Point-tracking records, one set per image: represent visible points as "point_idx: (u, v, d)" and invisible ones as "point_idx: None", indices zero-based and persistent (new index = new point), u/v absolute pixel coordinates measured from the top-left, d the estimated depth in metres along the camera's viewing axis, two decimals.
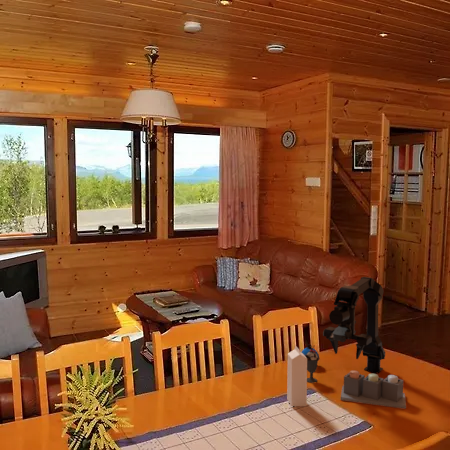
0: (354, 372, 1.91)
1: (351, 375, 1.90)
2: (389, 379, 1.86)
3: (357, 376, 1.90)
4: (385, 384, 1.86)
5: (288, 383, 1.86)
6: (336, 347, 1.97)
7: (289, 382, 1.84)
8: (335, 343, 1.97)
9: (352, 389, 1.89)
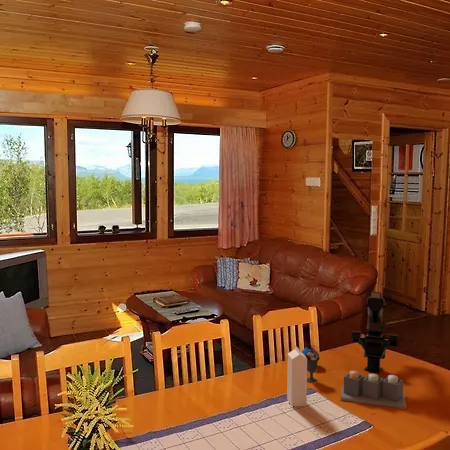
0: (354, 372, 1.91)
1: (351, 375, 1.90)
2: (389, 379, 1.86)
3: (357, 376, 1.90)
4: (385, 384, 1.86)
5: (288, 383, 1.86)
6: (366, 351, 1.99)
7: (289, 382, 1.84)
8: (366, 346, 1.99)
9: (352, 389, 1.89)
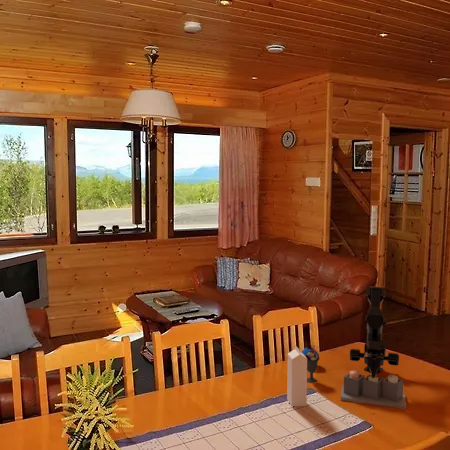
0: (354, 372, 1.91)
1: (351, 375, 1.90)
2: (389, 379, 1.86)
3: (357, 376, 1.90)
4: (385, 384, 1.86)
5: (288, 383, 1.86)
6: (373, 371, 1.90)
7: (289, 382, 1.84)
8: (372, 366, 1.91)
9: (352, 389, 1.89)
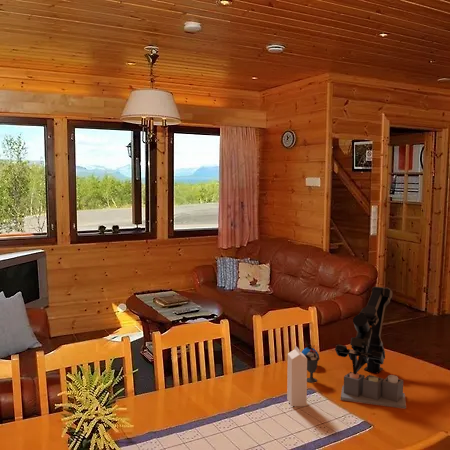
0: (354, 374, 1.91)
1: (351, 377, 1.90)
2: (389, 379, 1.86)
3: (357, 378, 1.90)
4: (385, 384, 1.86)
5: (288, 383, 1.86)
6: (355, 367, 1.93)
7: (289, 382, 1.84)
8: (355, 362, 1.94)
9: (352, 389, 1.89)
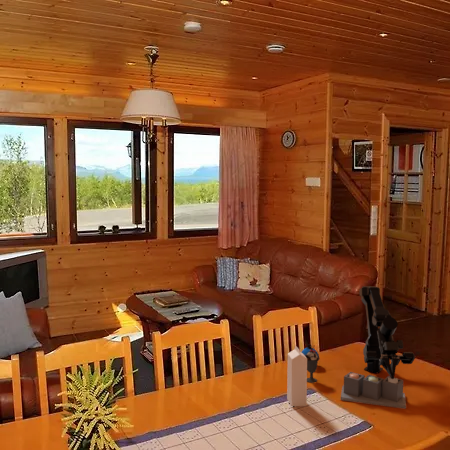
0: (354, 375, 1.91)
1: None
2: (389, 381, 1.86)
3: None
4: (385, 384, 1.86)
5: (288, 383, 1.86)
6: None
7: (289, 382, 1.84)
8: None
9: (352, 389, 1.89)
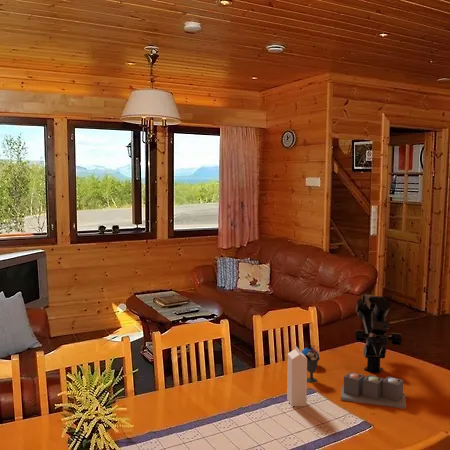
0: (354, 375, 1.91)
1: None
2: None
3: None
4: (385, 384, 1.86)
5: (288, 383, 1.86)
6: None
7: (289, 382, 1.84)
8: (376, 345, 2.00)
9: (352, 389, 1.89)
